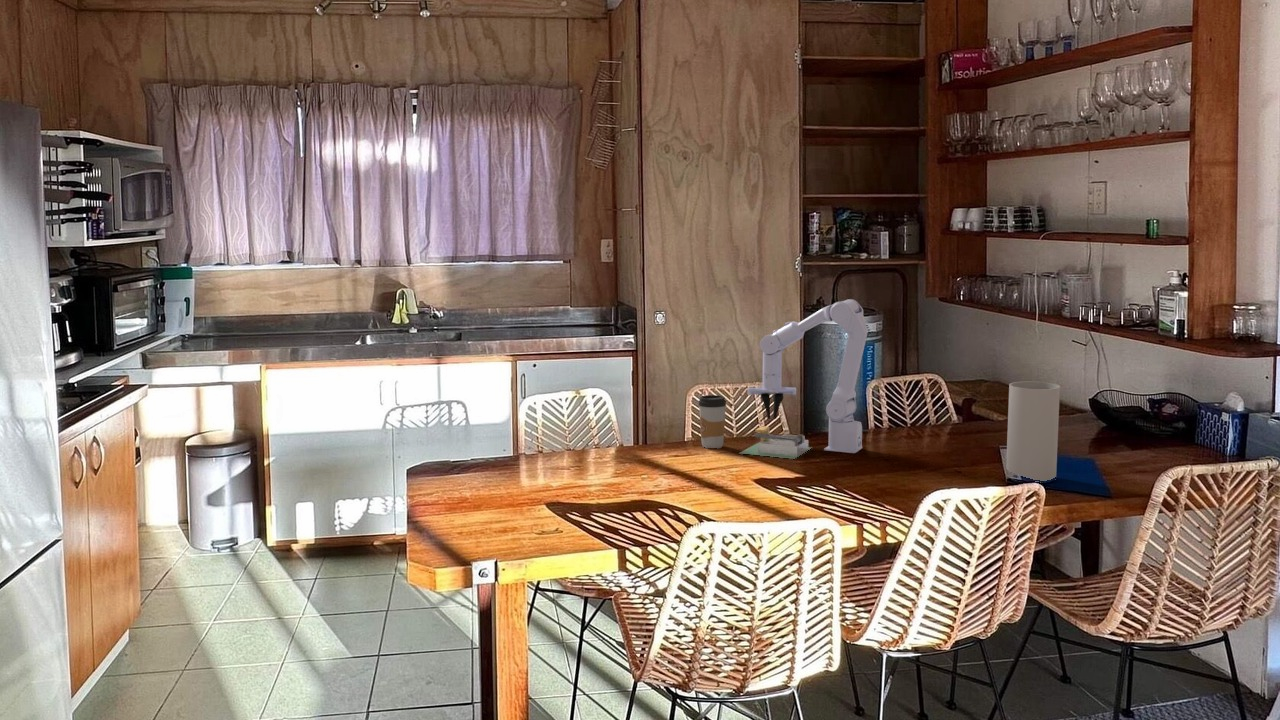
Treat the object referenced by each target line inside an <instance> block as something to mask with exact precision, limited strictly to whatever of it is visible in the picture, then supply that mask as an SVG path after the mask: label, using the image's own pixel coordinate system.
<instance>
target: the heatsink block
mask: <svg viewBox="0 0 1280 720" xmlns="http://www.w3.org/2000/svg"><path fill="white" fill-rule="evenodd" d="M780 436H787V437H793V441H792V440H781V439H767V438H766V439H764V440H763V441H761V442H760V441H759V442H757V443H758V453H760V454H770V455H780V456H790V457H798V456H800V455H801V454H803V453H804V452H806V451H808V447H809V439H806V438H805V435H804V434H799V433H798V434H796V435H795V434H787V433H786V434H785V433H783V434H781V435H780ZM799 437H800V438H801V439H802V440H801V441H800V442H798V438H799ZM808 452H809V451H808ZM806 453H807V452H806ZM804 454H805V453H804ZM804 454H803V455H804ZM801 456H802V455H801ZM801 456H800V457H801ZM798 458H799V457H798Z"/></svg>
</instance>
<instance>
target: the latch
mask: <svg viewBox="0 0 1280 720" xmlns="http://www.w3.org/2000/svg"><path fill="white" fill-rule="evenodd" d="M754 432H755V433H764V434H770V426H765V425H764V426H763V425H762V426H761V425H760V426H759V427H757V428H755V431H754ZM759 438H760V437H759ZM764 439H766V438H760V441H759V442H761V441H763V440H764Z"/></svg>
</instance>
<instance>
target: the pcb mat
mask: <svg viewBox="0 0 1280 720" xmlns="http://www.w3.org/2000/svg"><path fill="white" fill-rule="evenodd" d="M758 443H759V442H757V443H755V444H753V445H752V446H749V447H748V448H746V449H744V450H742V451H740V452H739V453H738V454H739V455H743V454H750V455H749V456H753V455H760V456H759V457H763V456H770V457H769V458H773V457H779V458H778V459H783V458H789V459H788V460H793V459H795V458H796V459H798V458H799V456H798V458H797V457H790V456H780V455H770V454H760V453H758ZM811 448H812V449H814V448H813V447H812V446H808V450H809V451H811V450H812V449H811ZM810 449H811V450H810ZM806 453H808V452H807V451H806ZM806 453H805V452H804V454H806ZM801 456H803V455H802V454H801ZM796 459H795V460H796Z"/></svg>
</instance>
